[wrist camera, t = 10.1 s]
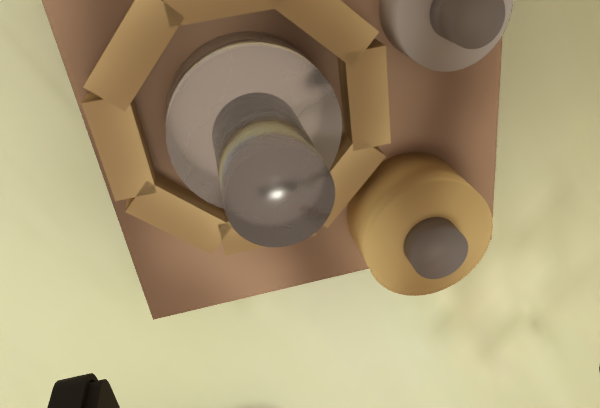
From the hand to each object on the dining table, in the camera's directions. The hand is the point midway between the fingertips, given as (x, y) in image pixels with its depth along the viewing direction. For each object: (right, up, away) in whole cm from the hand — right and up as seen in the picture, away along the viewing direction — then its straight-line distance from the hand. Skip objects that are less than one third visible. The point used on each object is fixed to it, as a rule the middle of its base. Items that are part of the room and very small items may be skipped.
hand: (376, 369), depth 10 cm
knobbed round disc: (-3, +7, +12) cm, 14 cm away
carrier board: (-1, +7, +15) cm, 16 cm away
